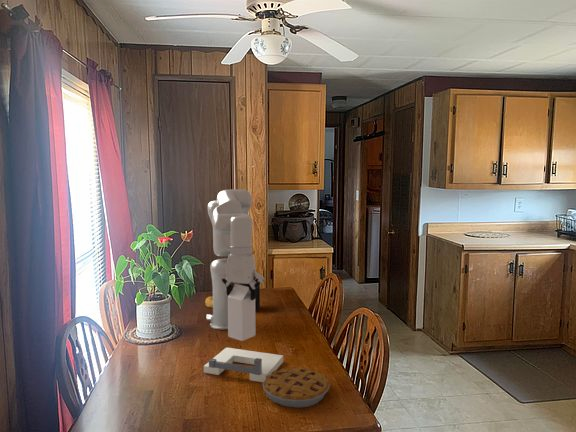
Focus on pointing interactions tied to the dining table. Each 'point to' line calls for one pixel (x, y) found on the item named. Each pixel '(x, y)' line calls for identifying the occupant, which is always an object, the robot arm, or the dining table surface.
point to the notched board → (247, 362)
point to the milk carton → (241, 313)
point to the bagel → (209, 302)
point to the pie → (296, 387)
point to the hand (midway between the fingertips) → (241, 297)
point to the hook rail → (238, 366)
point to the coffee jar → (257, 299)
